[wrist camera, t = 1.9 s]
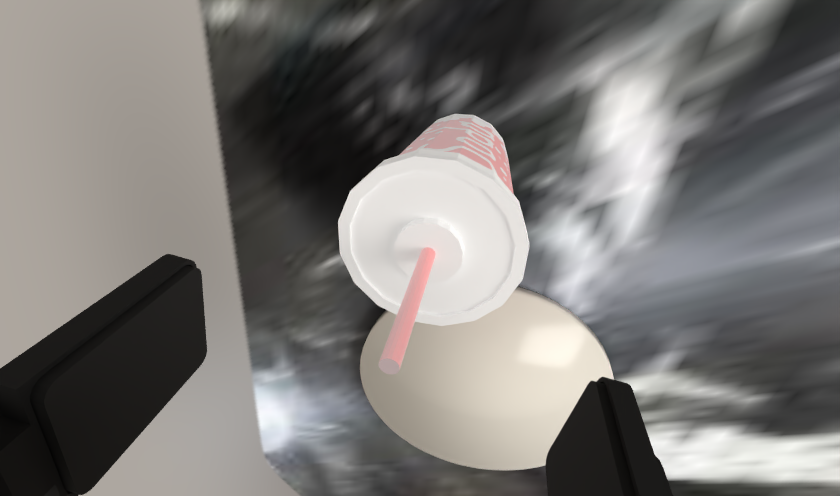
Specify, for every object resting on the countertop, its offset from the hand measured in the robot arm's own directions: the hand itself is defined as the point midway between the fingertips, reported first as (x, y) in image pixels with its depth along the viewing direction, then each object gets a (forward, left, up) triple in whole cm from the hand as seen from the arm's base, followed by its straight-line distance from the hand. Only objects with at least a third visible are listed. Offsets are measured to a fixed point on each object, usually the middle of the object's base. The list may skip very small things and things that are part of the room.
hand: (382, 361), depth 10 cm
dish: (+13, +5, -13) cm, 20 cm away
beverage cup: (-1, 0, -14) cm, 14 cm away
